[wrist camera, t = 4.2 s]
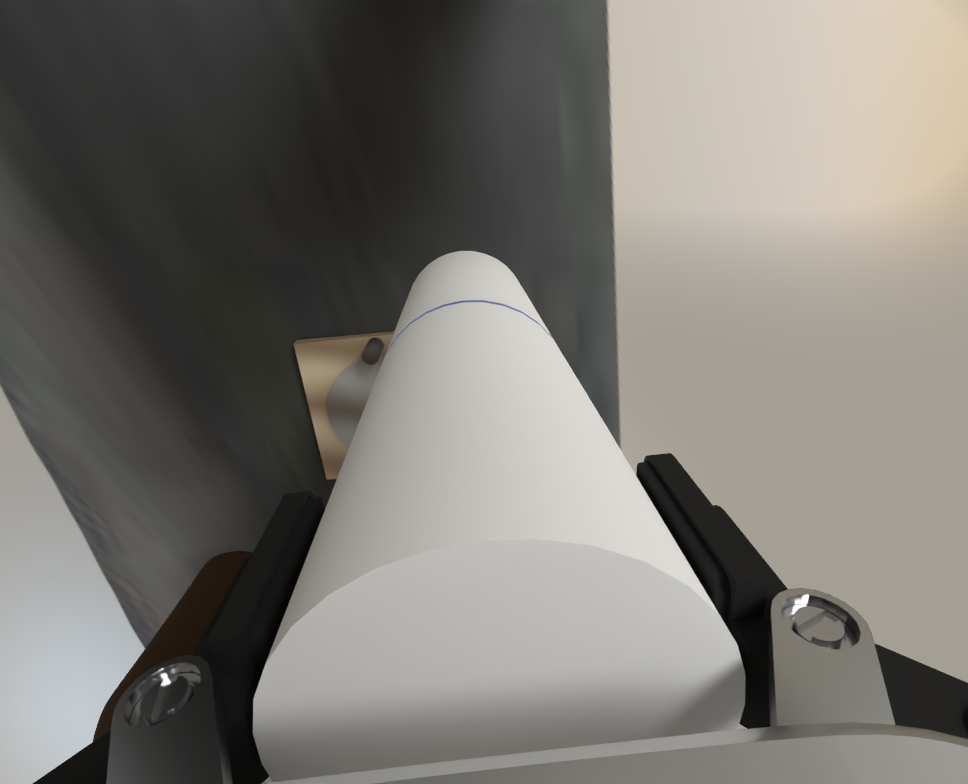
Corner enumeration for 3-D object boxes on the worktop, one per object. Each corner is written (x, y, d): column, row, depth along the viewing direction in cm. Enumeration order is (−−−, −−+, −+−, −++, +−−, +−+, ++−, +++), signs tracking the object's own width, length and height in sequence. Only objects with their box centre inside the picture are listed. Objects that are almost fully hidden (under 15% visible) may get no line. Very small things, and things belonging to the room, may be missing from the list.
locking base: (296, 340, 44) (282, 355, 41) (454, 325, 45) (454, 339, 41) (329, 473, 50) (319, 497, 46) (468, 460, 50) (469, 483, 47)
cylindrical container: (507, 234, 29) (719, 469, 6) (538, 348, 31) (761, 810, 9) (389, 271, 29) (148, 626, 6) (430, 380, 32) (366, 902, 9)
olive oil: (213, 531, 52) (24, 812, 29) (309, 569, 55) (205, 853, 32) (180, 598, 55) (-13, 898, 33) (272, 631, 58) (153, 929, 35)
